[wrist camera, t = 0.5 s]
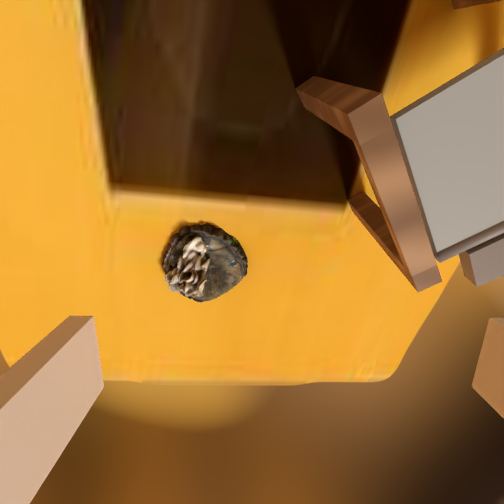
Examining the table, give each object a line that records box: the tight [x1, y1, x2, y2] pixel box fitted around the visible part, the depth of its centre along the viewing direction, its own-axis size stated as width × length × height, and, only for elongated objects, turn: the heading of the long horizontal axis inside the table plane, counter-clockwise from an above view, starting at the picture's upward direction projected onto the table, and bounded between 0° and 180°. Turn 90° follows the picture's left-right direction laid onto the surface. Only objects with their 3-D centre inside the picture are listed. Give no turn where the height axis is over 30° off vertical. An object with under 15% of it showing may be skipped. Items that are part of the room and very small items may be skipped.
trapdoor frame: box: [295, 0, 500, 292], centre depth 25 cm, size 16×17×15 cm
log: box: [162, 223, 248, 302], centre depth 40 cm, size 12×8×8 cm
